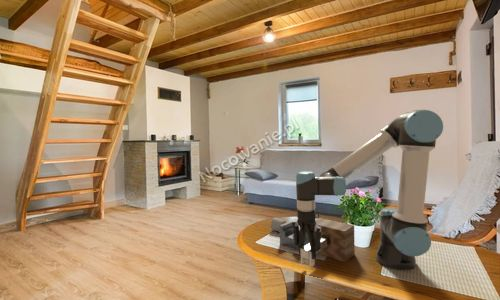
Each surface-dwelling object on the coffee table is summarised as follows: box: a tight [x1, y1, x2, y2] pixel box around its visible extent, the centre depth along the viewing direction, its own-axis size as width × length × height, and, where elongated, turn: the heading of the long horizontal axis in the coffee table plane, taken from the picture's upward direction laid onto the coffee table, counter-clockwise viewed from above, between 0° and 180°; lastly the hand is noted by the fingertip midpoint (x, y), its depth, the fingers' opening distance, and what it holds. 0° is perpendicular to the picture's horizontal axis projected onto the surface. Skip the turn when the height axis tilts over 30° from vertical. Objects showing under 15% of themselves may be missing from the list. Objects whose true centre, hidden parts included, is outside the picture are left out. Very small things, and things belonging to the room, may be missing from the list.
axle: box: [300, 237, 327, 260], centre depth 112 cm, size 4×16×4 cm, turn 136°
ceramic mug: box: [270, 217, 287, 233], centre depth 155 cm, size 11×8×8 cm
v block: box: [279, 220, 309, 251], centre depth 135 cm, size 12×10×10 cm
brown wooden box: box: [309, 217, 355, 263], centre depth 124 cm, size 18×10×14 cm, turn 46°
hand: (307, 264), depth 109 cm, fingers closed on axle, 3 cm apart
